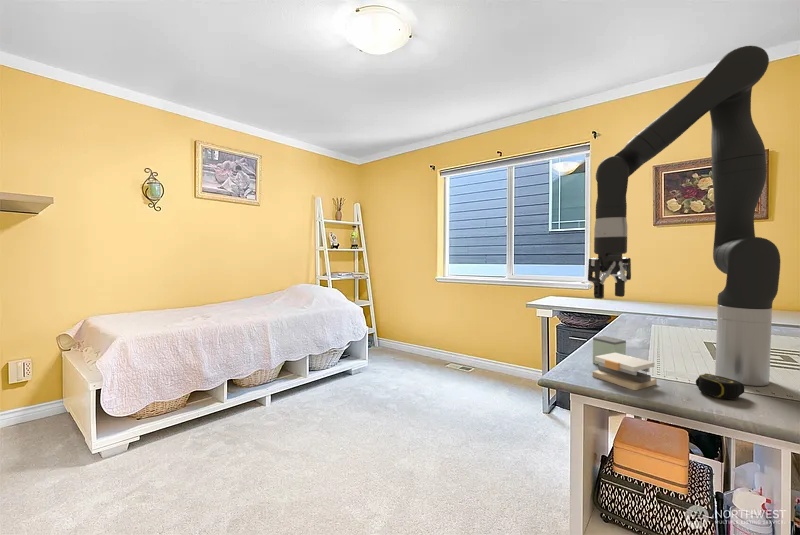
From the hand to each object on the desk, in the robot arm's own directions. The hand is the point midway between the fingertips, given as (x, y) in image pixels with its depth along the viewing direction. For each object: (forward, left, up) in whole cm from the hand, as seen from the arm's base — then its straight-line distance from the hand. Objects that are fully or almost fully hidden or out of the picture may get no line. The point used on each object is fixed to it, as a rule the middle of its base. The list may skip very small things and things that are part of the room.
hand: (609, 297), depth 95 cm
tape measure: (-2, +23, -18) cm, 29 cm away
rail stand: (+8, +9, -18) cm, 22 cm away
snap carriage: (+8, +9, -15) cm, 20 cm away
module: (0, 0, -18) cm, 18 cm away
